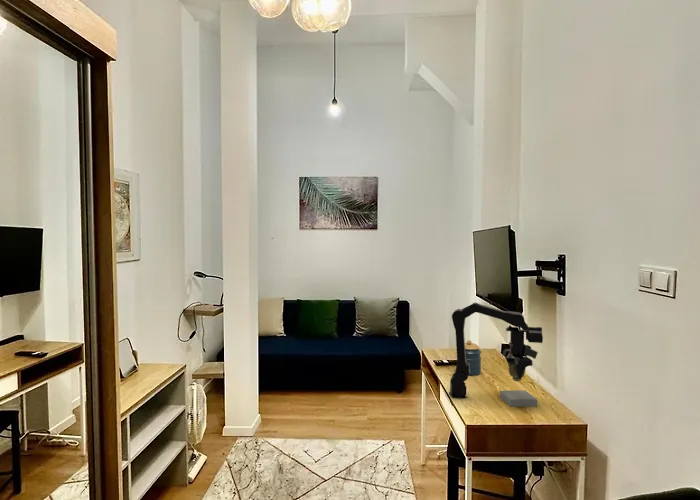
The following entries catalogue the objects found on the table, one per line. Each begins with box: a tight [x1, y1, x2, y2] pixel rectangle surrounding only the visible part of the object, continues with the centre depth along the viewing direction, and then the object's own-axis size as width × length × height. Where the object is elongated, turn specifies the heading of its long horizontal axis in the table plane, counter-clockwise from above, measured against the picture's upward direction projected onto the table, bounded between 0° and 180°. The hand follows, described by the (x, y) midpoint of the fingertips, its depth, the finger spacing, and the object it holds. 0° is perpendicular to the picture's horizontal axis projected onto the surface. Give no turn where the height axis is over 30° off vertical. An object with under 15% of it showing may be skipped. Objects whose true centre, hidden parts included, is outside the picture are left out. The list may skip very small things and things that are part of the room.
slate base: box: [499, 389, 539, 408], centre depth 199 cm, size 12×12×3 cm
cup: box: [507, 361, 526, 382], centre depth 198 cm, size 8×7×8 cm
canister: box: [465, 339, 482, 376], centre depth 244 cm, size 13×13×18 cm
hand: (516, 376), depth 198 cm, fingers closed on cup, 6 cm apart
